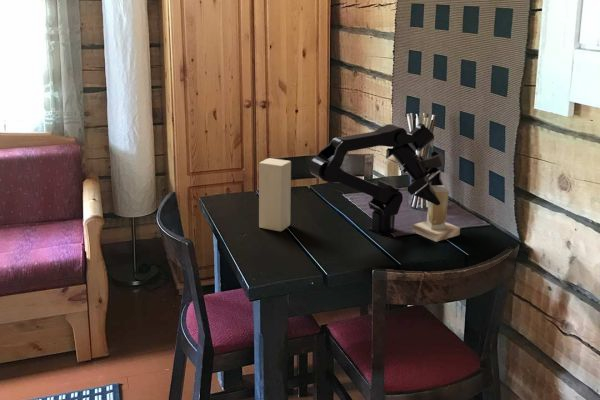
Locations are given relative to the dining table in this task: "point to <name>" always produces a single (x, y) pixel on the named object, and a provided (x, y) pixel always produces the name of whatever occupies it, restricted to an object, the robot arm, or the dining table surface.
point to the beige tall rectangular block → (274, 194)
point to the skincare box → (438, 208)
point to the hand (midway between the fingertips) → (442, 200)
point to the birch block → (436, 231)
